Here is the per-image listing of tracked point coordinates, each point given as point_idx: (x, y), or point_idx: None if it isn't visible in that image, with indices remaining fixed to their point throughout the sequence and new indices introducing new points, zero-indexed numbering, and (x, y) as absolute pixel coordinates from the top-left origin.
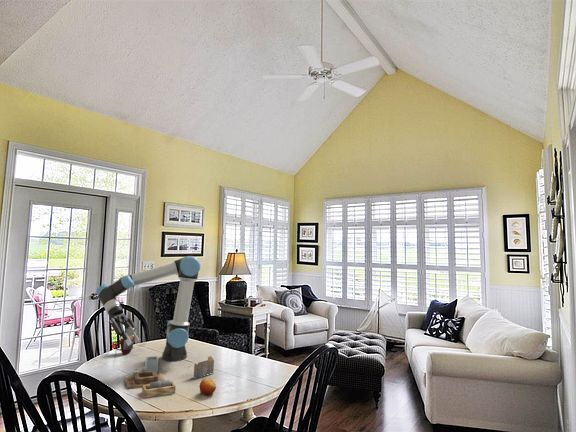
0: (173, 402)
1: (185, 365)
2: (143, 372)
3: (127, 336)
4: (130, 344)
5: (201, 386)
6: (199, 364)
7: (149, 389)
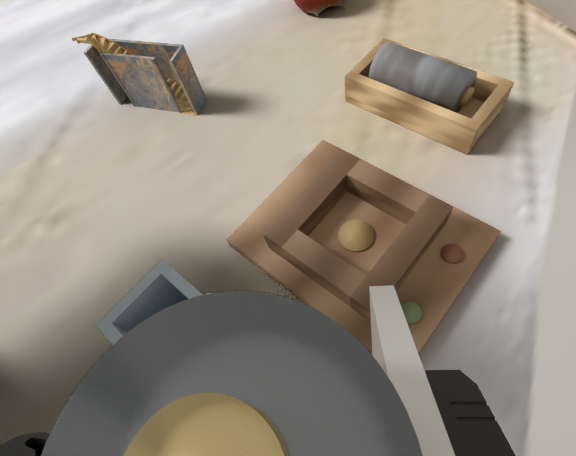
0: (449, 22)
1: (47, 242)
2: (334, 258)
3: (422, 370)
4: (371, 332)
5: None
6: (172, 45)
7: (488, 76)
